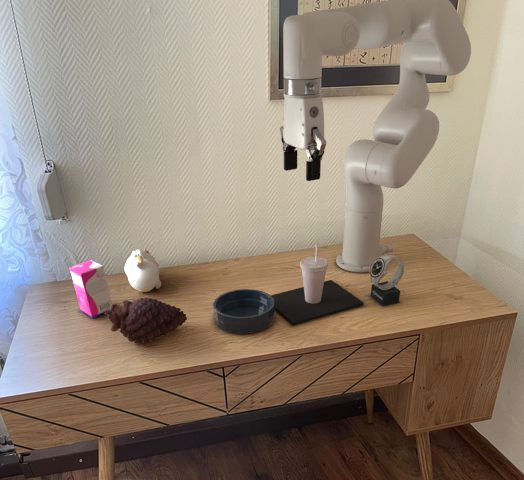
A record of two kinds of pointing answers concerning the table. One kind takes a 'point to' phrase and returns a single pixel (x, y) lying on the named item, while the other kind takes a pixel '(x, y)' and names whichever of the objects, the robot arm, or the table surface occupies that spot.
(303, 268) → the smoothie
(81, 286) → the supplement box
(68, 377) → the table surface
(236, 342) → the table surface
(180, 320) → the pine cone
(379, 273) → the watch
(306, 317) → the mat
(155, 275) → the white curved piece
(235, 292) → the dish
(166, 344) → the table surface
